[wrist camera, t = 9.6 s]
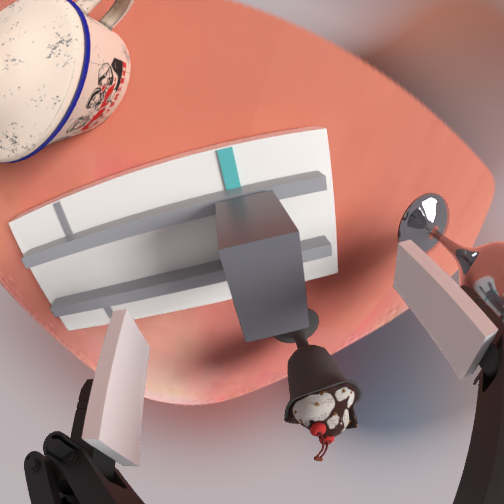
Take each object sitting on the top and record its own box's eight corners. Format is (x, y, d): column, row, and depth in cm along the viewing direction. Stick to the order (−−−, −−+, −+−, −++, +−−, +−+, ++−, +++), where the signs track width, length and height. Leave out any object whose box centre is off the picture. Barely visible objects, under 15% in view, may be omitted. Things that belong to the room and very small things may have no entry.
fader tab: (214, 195, 19) (217, 250, 13) (267, 183, 19) (299, 231, 13) (234, 268, 22) (245, 342, 16) (280, 257, 22) (309, 326, 16)
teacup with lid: (83, 160, 18) (-11, 222, 8) (15, 98, 14) (-89, 122, 4) (191, 37, 15) (170, -32, 5) (111, -22, 11) (45, -88, 1)
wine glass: (413, 273, 28) (495, 371, 15) (382, 228, 25) (490, 339, 12) (459, 224, 26) (552, 303, 13) (436, 173, 23) (559, 248, 10)
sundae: (256, 313, 28) (289, 460, 15) (322, 292, 28) (388, 426, 15) (271, 354, 31) (301, 478, 18) (328, 335, 31) (378, 452, 18)
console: (19, 213, 19) (-1, 230, 16) (316, 125, 20) (334, 130, 17) (74, 317, 25) (63, 341, 22) (329, 260, 26) (344, 282, 23)
